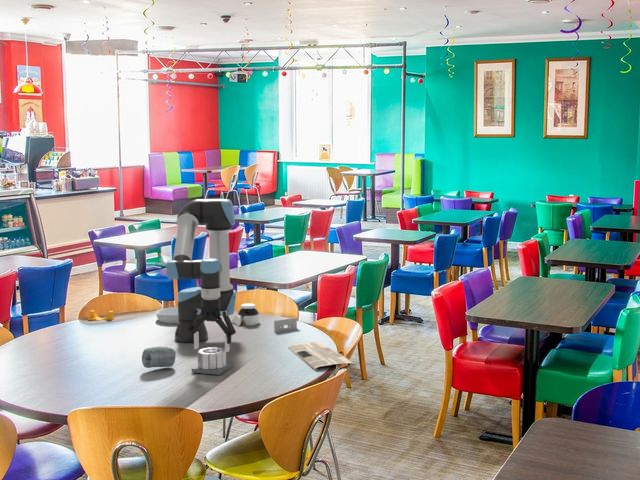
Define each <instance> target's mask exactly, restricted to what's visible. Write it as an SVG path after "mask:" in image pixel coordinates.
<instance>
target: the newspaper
mask: <svg viewBox="0 0 640 480" xmlns="http://www.w3.org/2000/svg"><path fill="white" fill-rule="evenodd" d="M286 348H287V349H288V350H290V351H291V352H292V353H293V354H294V355H295V356H297V357H298V359H300V360H301V361H303V363H304V364H306V365H307V366H308V367H310V368H312V369H313V370H314V371H315V372H316V371H319V369H318V368H320V367H328V366H334V365H344V364H345V365H346V364H350V365H352V366H354V367H355V366H357V364H356V363H354V362H353V361H352V360H350V359H348V358H347V357H345V356H344V355H342V354H341V353H339V352H337V351H335V350H333V349H332V348H331V347H329V346H327V345H326V344H324V343H322V342H320V341H318V342H317V341H313V342H311V341H310V342H300V343H294V344H289V345H286Z"/></svg>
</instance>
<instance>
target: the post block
mask: <svg viewBox="0 0 640 480" xmlns="http://www.w3.org/2000/svg"><path fill="white" fill-rule="evenodd" d="M216 352H217V351H216V350H208V351H207V353H216ZM231 368H233V363H232V362H226V366H225V367H223V368H219V369H202V368H199V367H198V364H197V365H195V366H193V367H191V373H197V374H204V375H205V374H206V375H217V376H220V375H222V374H223V373H224V372H227V371H228V370H229V369H231Z"/></svg>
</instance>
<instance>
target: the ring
mask: <svg viewBox="0 0 640 480" xmlns="http://www.w3.org/2000/svg"><path fill="white" fill-rule="evenodd" d="M208 350H216V351H217V352H216V353H207V351H208ZM226 363H227V352H225V347H219V346H218V347H217V346H213V347H211V346H210V347H205V348H204V347H203V348H201V349H197V365H198V367H199V368H202V369H219V368H223V367H225V366H226Z"/></svg>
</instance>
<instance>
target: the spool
mask: <svg viewBox="0 0 640 480" xmlns="http://www.w3.org/2000/svg"><path fill="white" fill-rule="evenodd" d="M141 355H142V356H141V363H142V365H143V367H144V368H147V369H150V368H165V367H166V368H169V367H173V366H174V364H175V362H176V351H175V349H174V348H172V347H169V346H153V347H146V348H145V349H143V352H142V354H141Z"/></svg>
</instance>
